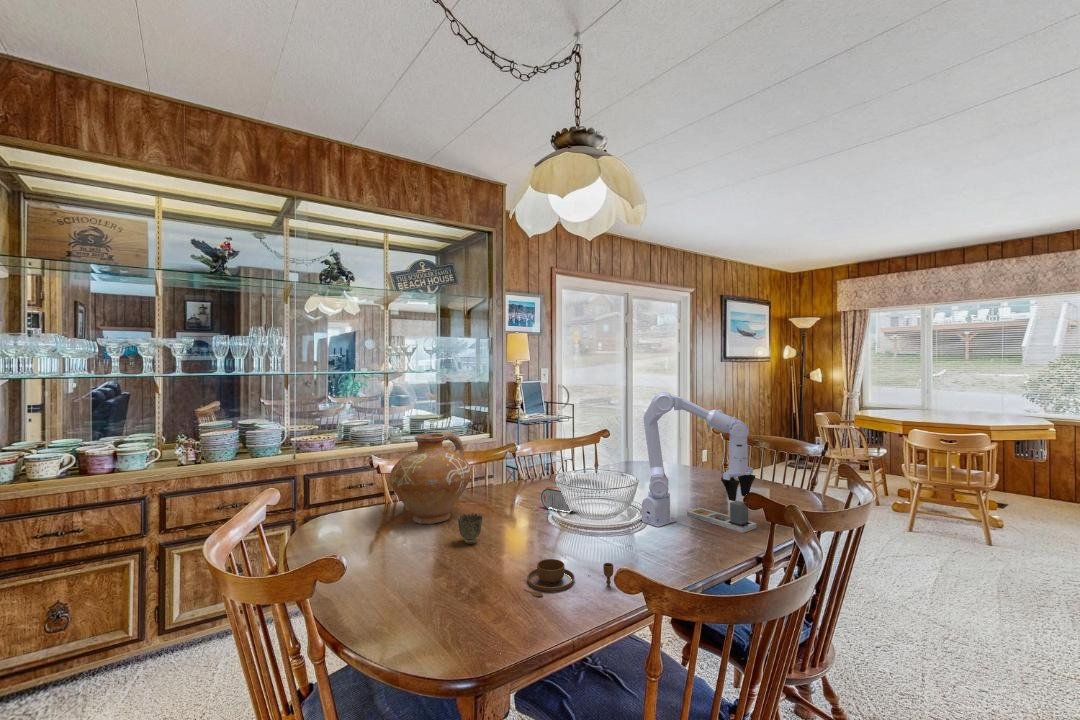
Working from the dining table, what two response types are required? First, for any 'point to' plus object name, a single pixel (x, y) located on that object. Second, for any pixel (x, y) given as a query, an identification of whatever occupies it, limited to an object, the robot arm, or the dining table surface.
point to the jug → (431, 477)
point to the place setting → (557, 575)
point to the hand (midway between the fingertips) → (738, 498)
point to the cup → (470, 527)
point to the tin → (554, 499)
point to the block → (738, 513)
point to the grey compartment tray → (710, 515)
